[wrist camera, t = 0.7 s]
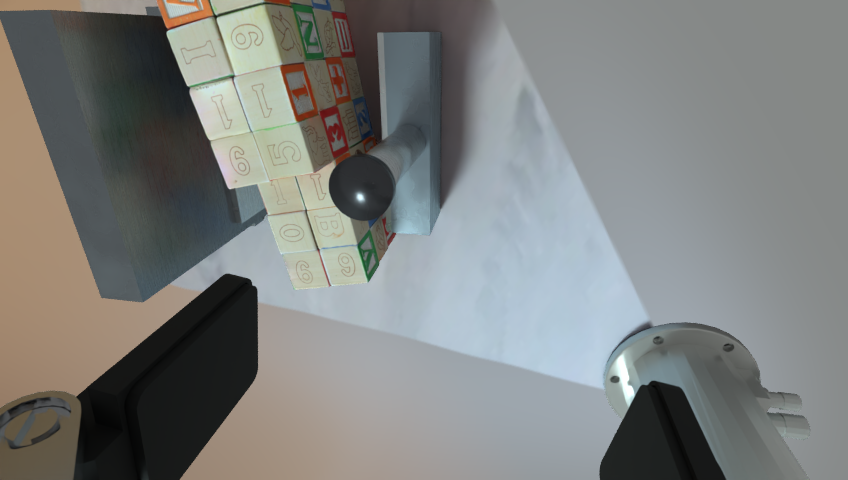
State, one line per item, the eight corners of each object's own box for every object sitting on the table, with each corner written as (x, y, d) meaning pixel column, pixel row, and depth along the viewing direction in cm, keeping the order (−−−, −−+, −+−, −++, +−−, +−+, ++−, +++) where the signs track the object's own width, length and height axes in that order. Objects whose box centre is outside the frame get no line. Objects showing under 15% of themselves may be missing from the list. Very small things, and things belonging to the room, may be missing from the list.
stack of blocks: (399, 234, 40) (355, 308, 29) (336, 241, 42) (271, 314, 31) (335, -35, 32) (242, -72, 21) (260, -14, 34) (137, -38, 23)
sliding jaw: (442, 32, 32) (385, 29, 18) (441, 212, 38) (396, 314, 24) (394, 32, 33) (303, 30, 19) (400, 209, 39) (334, 308, 25)
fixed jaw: (244, 6, 34) (51, -15, 20) (277, 221, 42) (154, 316, 28) (159, 7, 36) (-79, -11, 21) (206, 216, 43) (53, 305, 29)
